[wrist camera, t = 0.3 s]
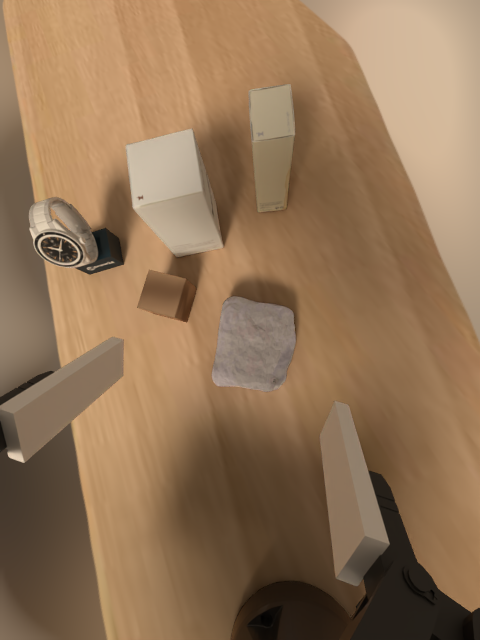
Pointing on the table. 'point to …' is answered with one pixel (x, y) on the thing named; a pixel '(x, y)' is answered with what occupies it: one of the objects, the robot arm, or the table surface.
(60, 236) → the watch
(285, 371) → the stone block
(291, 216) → the table surface
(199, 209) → the supplement box
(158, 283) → the walnut cube
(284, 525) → the table surface
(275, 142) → the skincare box
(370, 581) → the robot arm
